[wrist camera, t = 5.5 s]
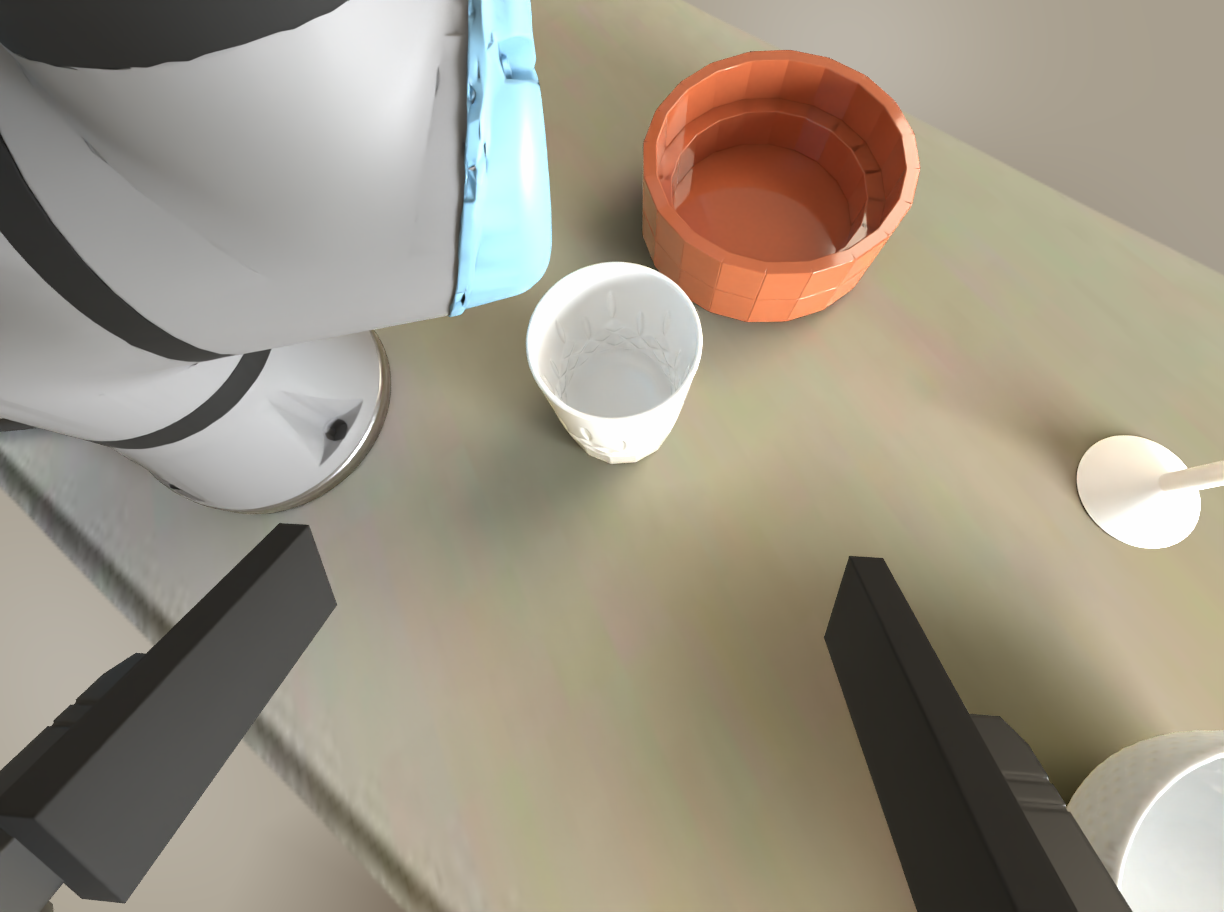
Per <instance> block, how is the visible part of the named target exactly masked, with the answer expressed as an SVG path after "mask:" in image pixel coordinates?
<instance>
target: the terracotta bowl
mask: <svg viewBox="0 0 1224 912" xmlns="http://www.w3.org/2000/svg"><path fill="white" fill-rule="evenodd" d="M919 173H920V163H919V157H918V151H917V145H916V139H915V134H914V132H913V130H912V128H911V127H910V125H909V123H908V122H907V120H906V118H905V117H904V115H903V113H902V111H901V110H900V108H899V106H898V105H897V103H896V102H895V101H894V100H893V99H892V98H891V97H890V96H889V95H888V94H887V93H886V92H884V91H883V90H882V89H881V88H880V87H879V86H878V85H877V84H875V83H874V82H873V81H872V80H871V79H870V78H869V77H867V76H866V75H864V74H862V73H860V72H858V71H856V70H854V69H852V68H849V67H847V66H845V65H843V64H841V63H839V62H837V61H835V60H833V59H830V58H827V57H822V56H817V55H813V54H808V53H803V52H798V51H793V50H776V51H750V52H747V53H743V54H740V55H737V56H733V57H730V58H726V59H723V60H720V61H716V62H713V63H710V64H709V65H707V66H705V67H704V68H702V69H701V70H699V71H697V72H696V73H694V74H692V75H691V76H689V77H688V78H686V79H684V80H683V81H681V82H680V83H679V84H678V85H677V86H676V87H675V89H674V90H673V91H672V92H671V93H670V94H669V95H668V97H667V98H666V99H665V100H664V101H663V102H662V104H661V105H660V106H659V107H658V108H657V110H656V111H655V113H654V116H653V119H652V121H651V124H650V126H649V129H648V131H647V134H646V137H645V139H644V143H643V194H642V225H643V237H644V240H645V242H646V245H647V248H648V250H649V253H650V255H651V258H652V260H653V263H654V265H655V267H656V268H657V269H658V270H659V272H660V273H662V274H663V275H665V276H667V277H668V278H669V279H671V280H672V281H673V282H675V283H676V284H677V285H678V286H679V287H680V288H681V289H682V290H683V291H684V292H685V294H686V295H687V296H688V297H689V299H690V300H691V301H692V302H694V303H696V304H697V305H699V306H700V307H702V308H704V309H705V310H707V311H709V312H712V313H715V314H719V315H723V316H726V317H730V318H734V319H738V320H741V321H745V322H779V321H789V320H792V319H796V318H799V317H802V316H805V315H808V314H812V313H815V312H818V311H821V310H823V309H825V308H826V307H828V306H829V305H831V304H832V303H834V302H835V301H836V300H838V299H839V298H841V297H842V296H843V295H845V294H846V293H848V292H849V291H851V290H852V289H853V288H854V287H855V285H856V284H857V282H858V281H859V279H860V278H861V277H862V275H863V274H864V272H865V271H866V270H867V268H868V267H869V265H870V264H871V263H872V261H873V260H874V258H875V257H876V256H877V254H878V253H879V251H880V250H881V249H882V247H883V246H884V244H885V243H886V241H887V240H888V239H889V237H890V236H891V234H892V233H893V232H894V230H895V229H896V227H897V226H898V224H899V223H900V222H901V220H902V219H903V217H904V216H905V215H906V213H907V212H908V210H909V209H910V207H911V205H912V203H913V198H914V194H915V190H916V186H917V181H918V177H919Z"/></svg>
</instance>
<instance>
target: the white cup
mask: <svg viewBox="0 0 1224 912" xmlns="http://www.w3.org/2000/svg"><path fill="white" fill-rule="evenodd" d="M701 352H702V329H701V324H700V320H699V317H698V314H697V312H696V310H695V307H694V306H693V304H692V302H691V300H690V299H689V297H688V296H687V295H686V294H685V292H684V291H683V290H682V289H681V288H680V287H679V286H678V285H677V284H676V283H675V282H673V281H672V280H671V279H669V278H668V277H667V276H665V275H663V274H662V273H660V272H658V271H656V270H654V269H651V268H649V267H646V266H643V265H639V264H634V263H628V262H604V263H598V264H593V265H589V266H586V267H583V268H581V269H578V270H576V271H574V272H572V273H570V274H568V275H567V276H565V277H563V278H562V279H561V280H559V281H558V282H557V283H555V284H554V285H553V286H552V287H551V288H550V289H549V290H548V291H547V292H546V293H545V294H544V296H543V297H542V298H541V300H540V301H539V302H538V304H537V306H536V307H535V309H534V311H533V314H532V316H531V318H530V321H529V325H528V329H527V335H526V353H527V359H528V364H529V367H530V370H531V372H532V375H533V377H534V379H535V381H536V382H537V384H538V386H539V387H540V389H541V391H542V392H543V394H544V395H545V397H546V399H547V400H548V402H549V404H550V405H551V407H552V409H553V410H554V412H555V414H556V415H557V417H558V419H559V420H560V421H561V423H562V424H563V426H564V427H565V428H566V430H567V431H568V432H569V434H570V435H571V436H572V438H573V439H574V440H575V441H576V442H577V443H578V444H579V445H580V446H581V447H582V448H583V449H584V451H585V452H586V453H587V454H588V455H590V456H593V457H595V458H598V459H600V460H603V461H605V462H608V463H611V464H615V463H629V462H637V461H639V460H641V459H642V458H644V457H646V456H648V455H650V454H651V453H653V452H655V451H657V450H658V449H659V447H660V446H661V444H662V443H663V441H664V440H665V439H666V437H667V436H668V434H669V433H670V431H671V430H672V427H673V425H674V423H675V422H676V420H677V417H678V415H679V413H680V411H681V409H682V406H683V404H684V402H685V399H686V396H687V394H688V391H689V388H690V386H691V383H692V380H693V378H694V375H695V373H696V370H697V368H698V365H699V361H700V358H701Z"/></svg>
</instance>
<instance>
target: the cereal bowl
mask: <svg viewBox="0 0 1224 912" xmlns="http://www.w3.org/2000/svg"><path fill="white" fill-rule="evenodd" d="M1066 809H1067V811H1068V812H1071V814H1072V815H1073V817H1074V818H1075V820H1076V822H1077V823H1078V825H1079V826H1080V828H1081V830H1082V831H1083V833H1084V834H1085V836H1086V838H1087V839H1088V841H1089V842H1090V844H1091V846H1092V847H1093V849H1094V850H1095V852H1096V854H1097V855H1098V857H1099V858H1100V860H1101V862H1102V863H1103V865H1104V866H1105V868H1106V870H1107V871H1108V873H1109V874H1110V876H1111V878H1112V879H1113V881H1114V882H1115V884H1116V886H1117V887H1118V889H1119V890H1120V892H1121V894H1122V895H1123V897H1124V898H1125V900H1126V902H1127V903H1128V905H1129V906H1130V908H1131V910H1132V911H1133V912H1224V730H1214V731H1204V730H1195V731H1189V732H1173V733H1170V734H1167V735H1159V736H1155V737H1153V738H1150V739H1146V740H1141V741H1140V742H1136V743H1135V744H1133V745H1131V746H1128V747H1124V748H1122V749H1121V750H1120V751H1119V752H1117V753H1114V754H1112V755H1111V756H1110V757H1108V758H1107V759H1106V760H1105V761H1104V762H1102V763H1101V764H1099V765H1097V767H1096V768H1095V769H1094V770H1093V771H1091V773H1090V775H1089V776H1088V777H1087V778H1085V779H1084V781H1083V783H1082V784H1081V785H1080V786H1079V787H1078V788H1077V790H1076V792H1075V794H1074V795H1073V796H1072V798H1071V800H1070V803H1069V804H1068V805H1067V808H1066Z"/></svg>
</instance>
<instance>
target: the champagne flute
mask: <svg viewBox="0 0 1224 912" xmlns="http://www.w3.org/2000/svg"><path fill="white" fill-rule="evenodd" d="M1222 485H1224V460H1223V461H1218V462H1214V463H1209V464H1205V465H1201V466H1196V467H1192V468H1187V467H1186V466H1185V465H1184V464H1183V462H1182V461H1181V460H1180V459H1179V458H1178V457H1177V456H1176V455H1174V454H1173V453H1172V452H1171V451H1169V450H1168V449H1167V448H1165V447H1163V446H1161V445H1160V444H1158V443H1156V442H1153V441H1151V440H1148V439H1145V438H1141V437H1137V436H1127V435H1120V436H1113V437H1109V438H1106V439H1103V440H1100V441H1099V442H1097V443H1096V444H1094V445H1093V446H1091V447H1090V448H1089V449H1088V450H1087V451H1086V453H1085V454H1084V456H1083V457H1082V459H1081V461H1080V464H1079V467H1078V471H1077V487H1078V493H1079V496H1080V498H1081V501H1082V504H1083V505H1084V507H1085V509H1086V510H1087V512H1088V514H1089V515H1090V516H1091V518H1092V519H1093V520H1094V521H1095V522H1096V524H1097V525H1098V526H1100V527H1101V528H1102V529H1103V530H1104V531H1106V532H1107V533H1108V534H1110V535H1111V536H1113V537H1115V538H1116V539H1118V540H1120V541H1122V542H1125V543H1127V544H1129V545H1133V546H1137V547H1141V548H1154V549H1156V548H1163V547H1168V546H1171V545H1173V544H1176V543H1178V542H1180V541H1181V540H1183V539H1184V538H1186V537H1187V536H1188V535H1189V534H1190V532H1191V531H1192V530H1193V529H1194V527H1195V525H1196V523H1197V521H1198V518H1199V513H1200V496H1199V491H1198V490H1200V489H1206V488H1211V487H1217V486H1222Z"/></svg>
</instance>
